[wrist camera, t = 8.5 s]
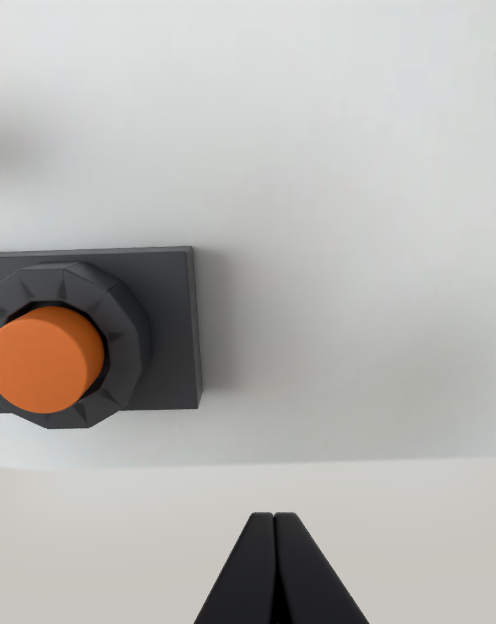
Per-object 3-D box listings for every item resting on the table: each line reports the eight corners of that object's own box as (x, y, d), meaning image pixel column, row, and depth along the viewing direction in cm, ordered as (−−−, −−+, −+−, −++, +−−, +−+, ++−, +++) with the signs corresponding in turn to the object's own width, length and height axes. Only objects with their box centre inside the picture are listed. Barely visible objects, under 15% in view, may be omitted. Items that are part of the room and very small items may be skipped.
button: (111, 390, 17) (94, 413, 15) (22, 393, 17) (-4, 415, 15) (98, 304, 16) (79, 317, 14) (4, 306, 16) (-26, 320, 14)
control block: (202, 391, 20) (192, 432, 17) (-2, 396, 20) (-53, 437, 17) (192, 245, 18) (177, 257, 15) (-33, 253, 18) (-98, 266, 15)
